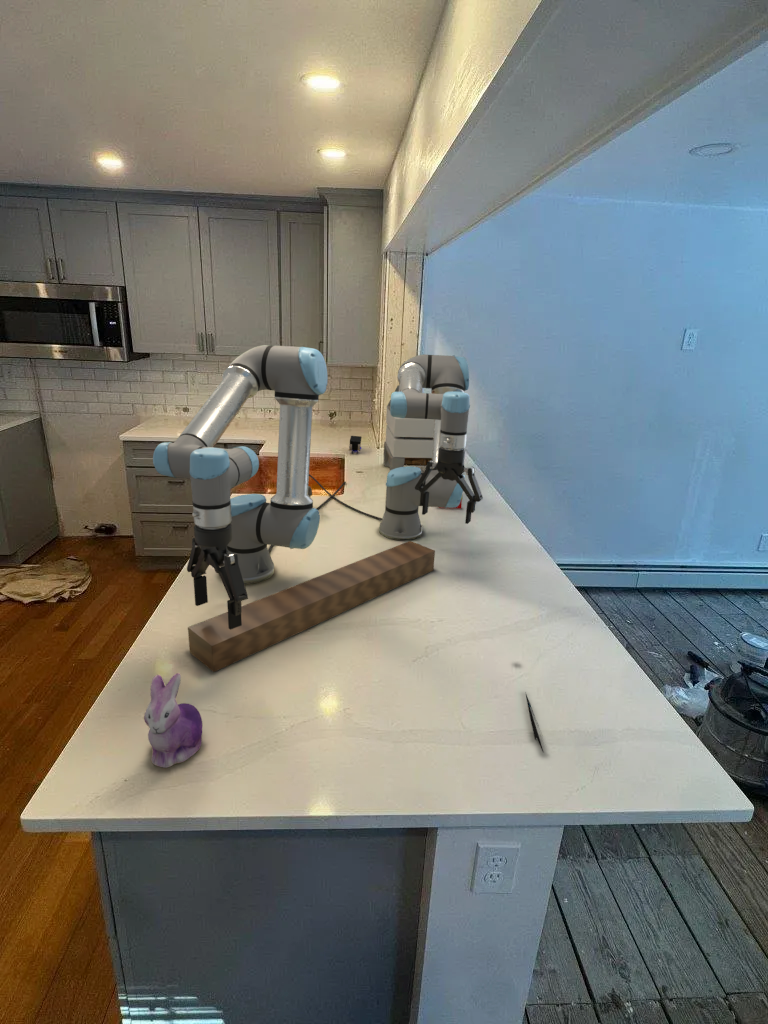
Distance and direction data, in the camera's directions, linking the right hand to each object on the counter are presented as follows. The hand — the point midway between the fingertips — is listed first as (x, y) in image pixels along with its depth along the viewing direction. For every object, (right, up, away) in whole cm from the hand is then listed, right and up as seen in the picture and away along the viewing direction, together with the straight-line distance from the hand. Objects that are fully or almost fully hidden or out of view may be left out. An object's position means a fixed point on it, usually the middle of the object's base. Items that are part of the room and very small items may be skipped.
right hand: (446, 517), depth 168 cm
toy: (+8, +8, +72) cm, 73 cm away
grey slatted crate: (-1, +21, +107) cm, 109 cm away
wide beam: (-33, -23, -18) cm, 44 cm away
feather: (+11, -38, -53) cm, 66 cm away
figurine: (-55, -40, -68) cm, 96 cm away
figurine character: (-34, +35, +142) cm, 150 cm away
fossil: (-52, +2, +49) cm, 72 cm away
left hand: (-55, -21, -44) cm, 73 cm away
